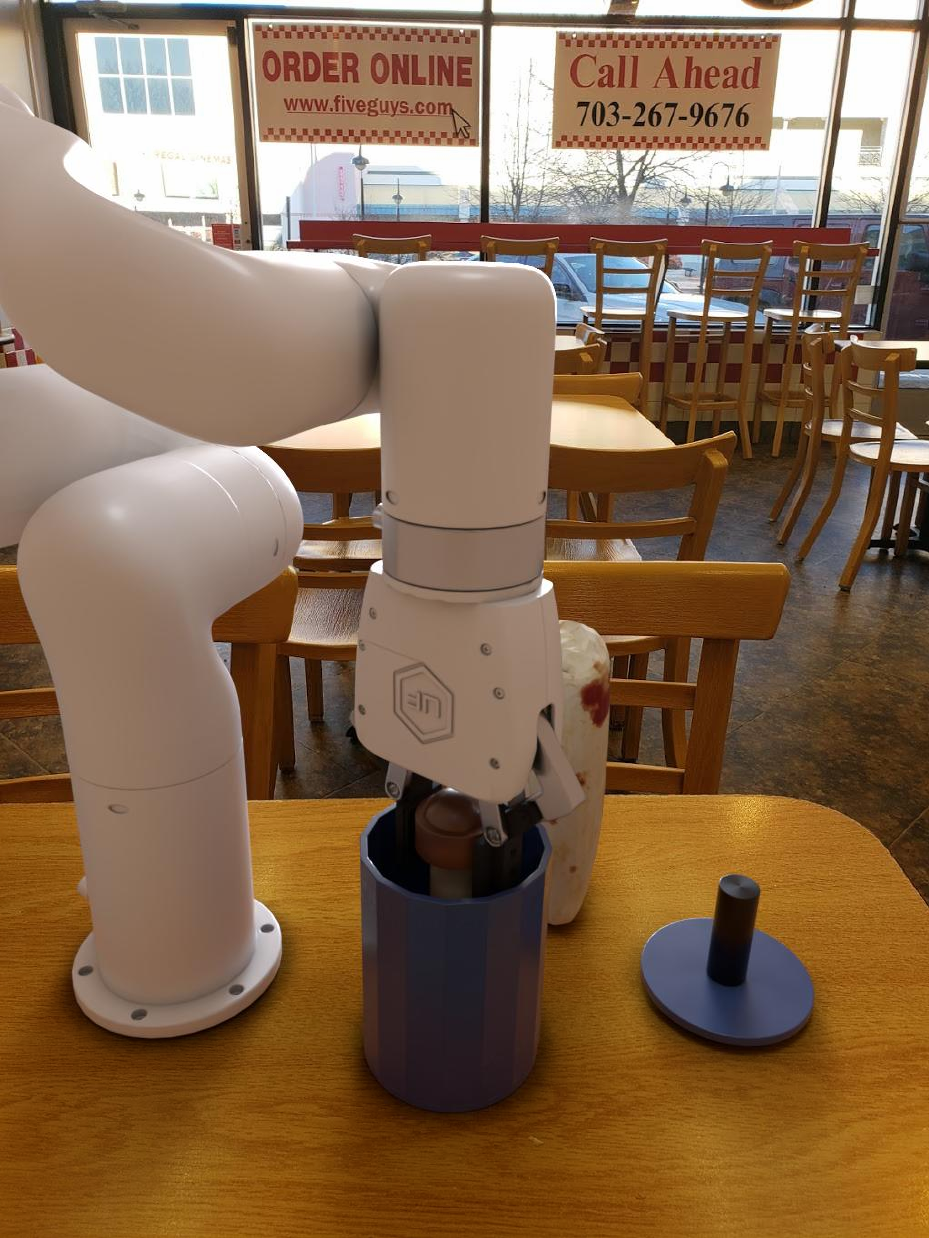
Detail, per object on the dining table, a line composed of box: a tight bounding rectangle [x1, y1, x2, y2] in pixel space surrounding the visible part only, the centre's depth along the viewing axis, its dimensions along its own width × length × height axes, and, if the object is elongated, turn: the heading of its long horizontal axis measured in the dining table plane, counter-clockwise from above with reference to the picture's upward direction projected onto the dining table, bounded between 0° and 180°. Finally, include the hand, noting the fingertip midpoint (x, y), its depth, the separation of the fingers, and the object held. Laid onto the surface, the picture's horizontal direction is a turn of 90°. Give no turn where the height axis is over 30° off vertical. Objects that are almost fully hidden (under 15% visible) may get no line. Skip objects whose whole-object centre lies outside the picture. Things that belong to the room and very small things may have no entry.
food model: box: [529, 619, 611, 926], centre depth 63 cm, size 10×7×20 cm
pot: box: [359, 801, 553, 1114], centre depth 52 cm, size 10×10×14 cm
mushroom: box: [415, 787, 483, 900], centre depth 49 cm, size 4×4×7 cm
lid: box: [639, 873, 815, 1047], centre depth 57 cm, size 10×10×8 cm
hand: (456, 872), depth 50 cm, fingers closed on mushroom, 4 cm apart
